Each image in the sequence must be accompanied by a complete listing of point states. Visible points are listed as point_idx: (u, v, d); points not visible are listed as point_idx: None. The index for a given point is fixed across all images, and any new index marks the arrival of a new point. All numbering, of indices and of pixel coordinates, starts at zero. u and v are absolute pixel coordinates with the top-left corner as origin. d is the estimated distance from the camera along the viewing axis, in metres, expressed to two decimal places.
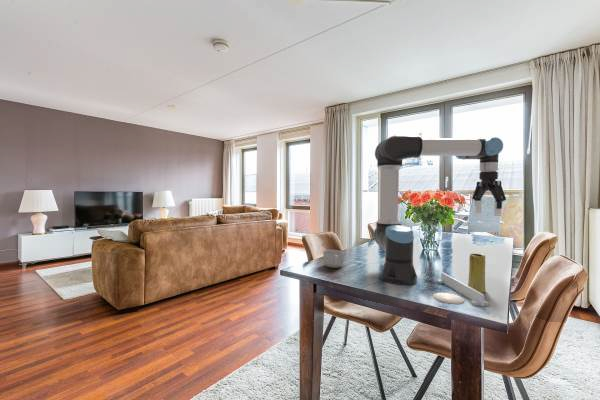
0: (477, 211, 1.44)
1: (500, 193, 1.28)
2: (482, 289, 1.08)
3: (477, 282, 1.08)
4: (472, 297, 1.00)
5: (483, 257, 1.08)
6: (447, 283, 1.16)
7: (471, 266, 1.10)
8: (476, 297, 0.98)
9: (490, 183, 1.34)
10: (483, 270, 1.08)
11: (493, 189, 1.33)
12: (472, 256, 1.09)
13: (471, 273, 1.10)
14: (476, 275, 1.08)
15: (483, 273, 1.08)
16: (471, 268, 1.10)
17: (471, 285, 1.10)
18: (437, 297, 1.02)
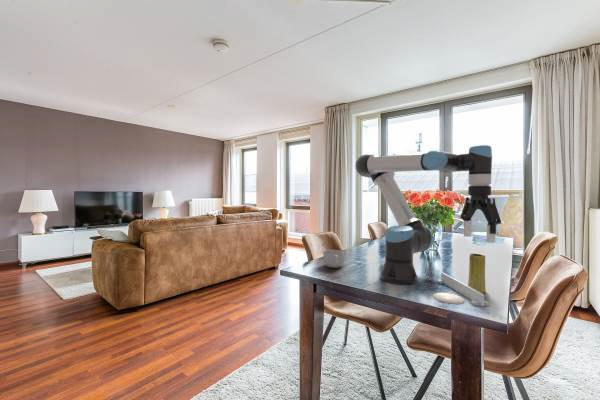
0: (466, 234, 1.16)
1: (494, 214, 1.01)
2: (482, 289, 1.08)
3: (477, 282, 1.08)
4: (472, 297, 1.00)
5: (483, 257, 1.08)
6: (447, 283, 1.16)
7: (471, 266, 1.10)
8: (476, 297, 0.98)
9: (481, 200, 1.06)
10: (483, 270, 1.08)
11: (485, 208, 1.05)
12: (472, 256, 1.09)
13: (471, 273, 1.10)
14: (476, 275, 1.08)
15: (483, 273, 1.08)
16: (471, 268, 1.10)
17: (471, 285, 1.10)
18: (437, 297, 1.02)
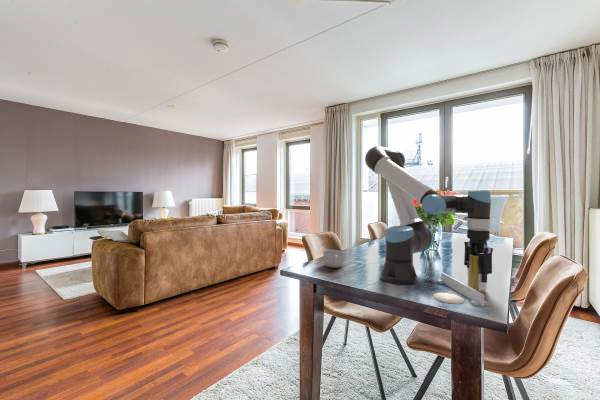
0: None
1: (487, 265, 1.04)
2: None
3: (477, 282, 1.08)
4: (472, 297, 1.00)
5: None
6: (447, 283, 1.16)
7: (471, 266, 1.10)
8: (476, 297, 0.98)
9: (480, 245, 1.07)
10: (483, 270, 1.08)
11: (481, 255, 1.07)
12: (472, 256, 1.09)
13: (471, 273, 1.10)
14: (476, 275, 1.08)
15: None
16: (471, 268, 1.10)
17: (471, 285, 1.10)
18: (437, 297, 1.02)
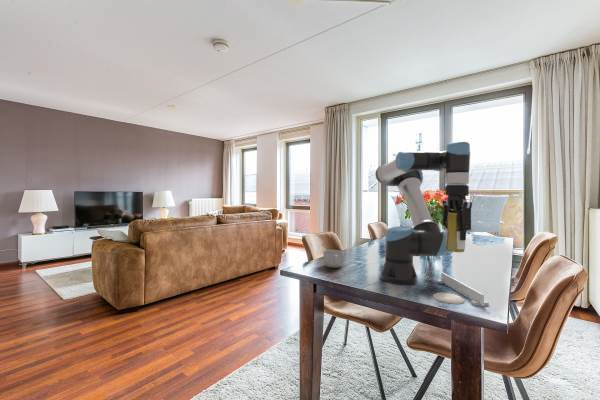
0: None
1: (466, 220, 0.96)
2: None
3: (456, 240, 1.01)
4: (472, 297, 1.00)
5: None
6: (447, 283, 1.16)
7: (449, 224, 1.02)
8: (476, 297, 0.98)
9: (458, 201, 1.00)
10: None
11: (460, 211, 1.00)
12: (450, 213, 1.02)
13: (449, 232, 1.02)
14: (454, 234, 1.01)
15: None
16: (449, 226, 1.02)
17: (449, 245, 1.02)
18: (437, 297, 1.02)
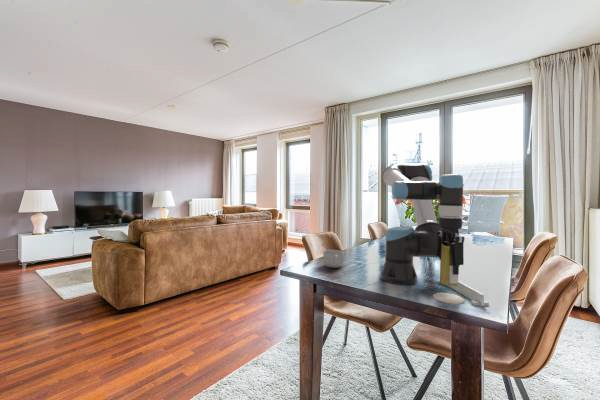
0: None
1: (458, 255, 0.95)
2: None
3: (449, 274, 0.99)
4: (472, 297, 1.00)
5: None
6: None
7: (442, 257, 1.01)
8: (476, 297, 0.98)
9: (451, 234, 0.98)
10: None
11: (453, 245, 0.99)
12: (443, 246, 1.01)
13: (442, 265, 1.01)
14: (447, 267, 1.00)
15: None
16: (442, 259, 1.01)
17: (442, 278, 1.01)
18: (437, 297, 1.02)
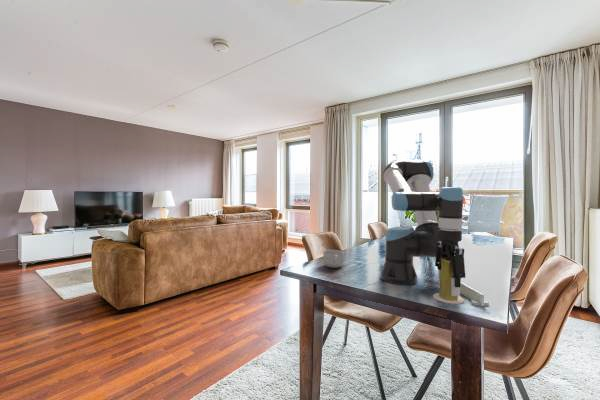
0: None
1: (459, 268, 0.94)
2: (454, 296, 1.00)
3: (448, 288, 1.00)
4: (472, 297, 1.00)
5: None
6: None
7: (442, 271, 1.02)
8: (476, 297, 0.98)
9: (451, 247, 0.99)
10: None
11: (453, 257, 0.98)
12: (443, 260, 1.01)
13: (442, 279, 1.01)
14: (447, 281, 1.00)
15: None
16: (442, 273, 1.02)
17: (442, 292, 1.01)
18: (437, 297, 1.02)
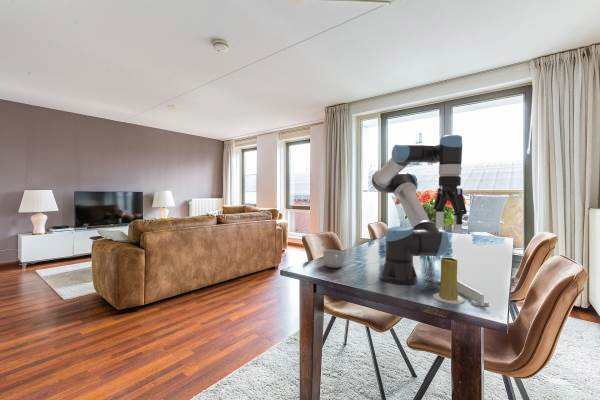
0: (438, 225, 1.15)
1: (460, 205, 1.00)
2: (454, 296, 1.00)
3: (448, 288, 1.00)
4: (472, 297, 1.00)
5: (455, 261, 0.99)
6: None
7: (442, 271, 1.02)
8: (476, 297, 0.98)
9: (450, 191, 1.05)
10: (455, 276, 0.99)
11: (453, 199, 1.04)
12: (443, 260, 1.01)
13: (442, 279, 1.01)
14: (447, 281, 1.00)
15: (455, 279, 1.00)
16: (442, 273, 1.02)
17: (442, 292, 1.01)
18: (437, 297, 1.02)
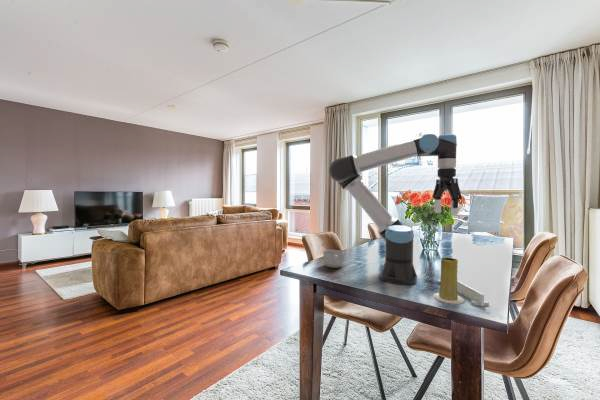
0: (437, 210, 1.36)
1: (456, 191, 1.20)
2: (454, 296, 1.00)
3: (448, 288, 1.00)
4: (472, 297, 1.00)
5: (455, 261, 0.99)
6: None
7: (442, 271, 1.02)
8: (476, 297, 0.98)
9: (447, 181, 1.26)
10: (455, 276, 0.99)
11: (450, 187, 1.25)
12: (443, 260, 1.01)
13: (442, 279, 1.01)
14: (447, 281, 1.00)
15: (455, 279, 1.00)
16: (442, 273, 1.02)
17: (442, 292, 1.01)
18: (437, 297, 1.02)
